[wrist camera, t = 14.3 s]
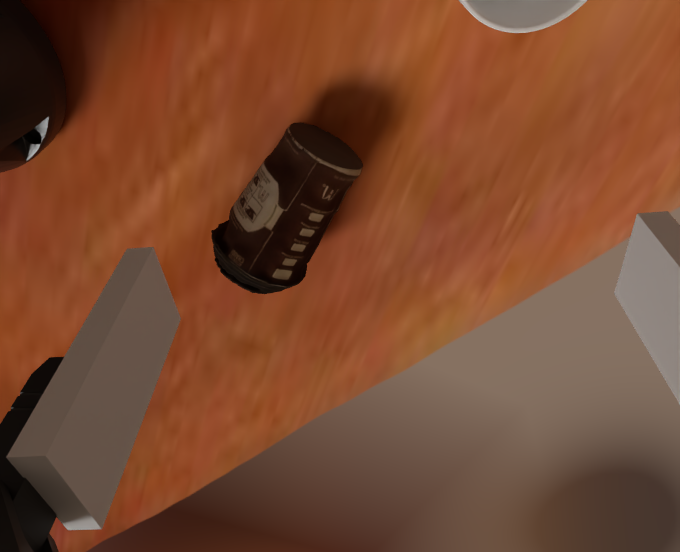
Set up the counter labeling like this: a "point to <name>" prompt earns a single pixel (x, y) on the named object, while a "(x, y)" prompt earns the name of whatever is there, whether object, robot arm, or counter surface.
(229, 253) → the coffee cup
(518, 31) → the mug
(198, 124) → the counter surface
